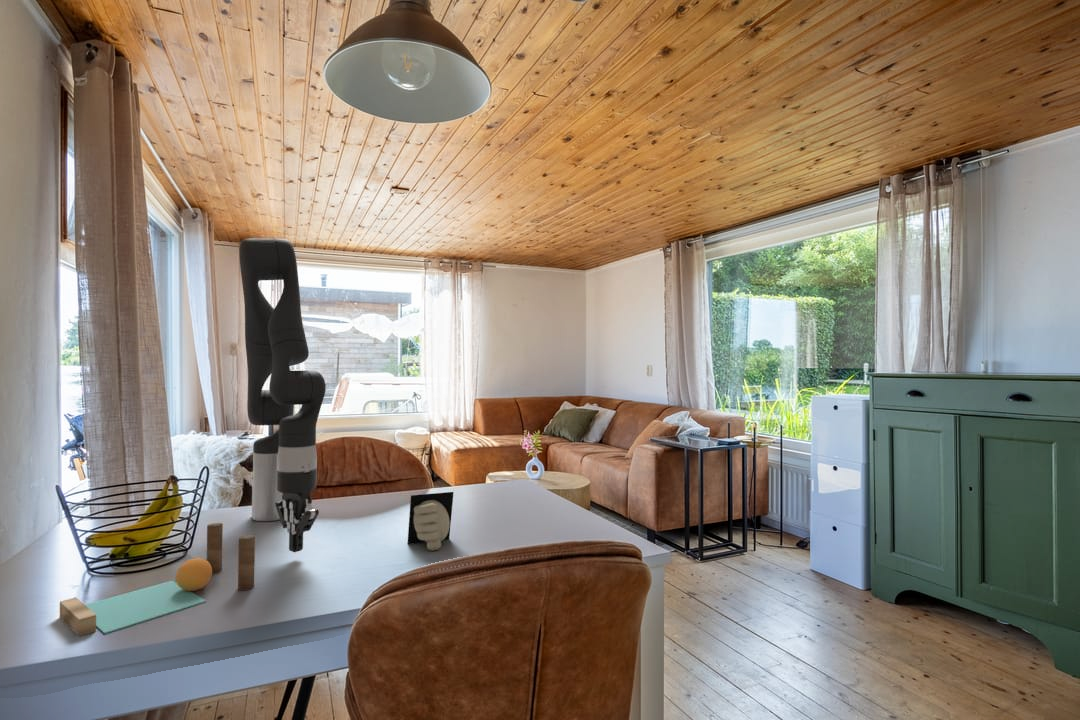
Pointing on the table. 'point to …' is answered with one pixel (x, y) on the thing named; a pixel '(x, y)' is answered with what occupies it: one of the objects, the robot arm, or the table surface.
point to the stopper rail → (78, 616)
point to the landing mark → (141, 606)
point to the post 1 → (215, 546)
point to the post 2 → (246, 562)
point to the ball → (194, 574)
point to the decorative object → (430, 519)
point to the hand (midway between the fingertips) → (295, 550)
